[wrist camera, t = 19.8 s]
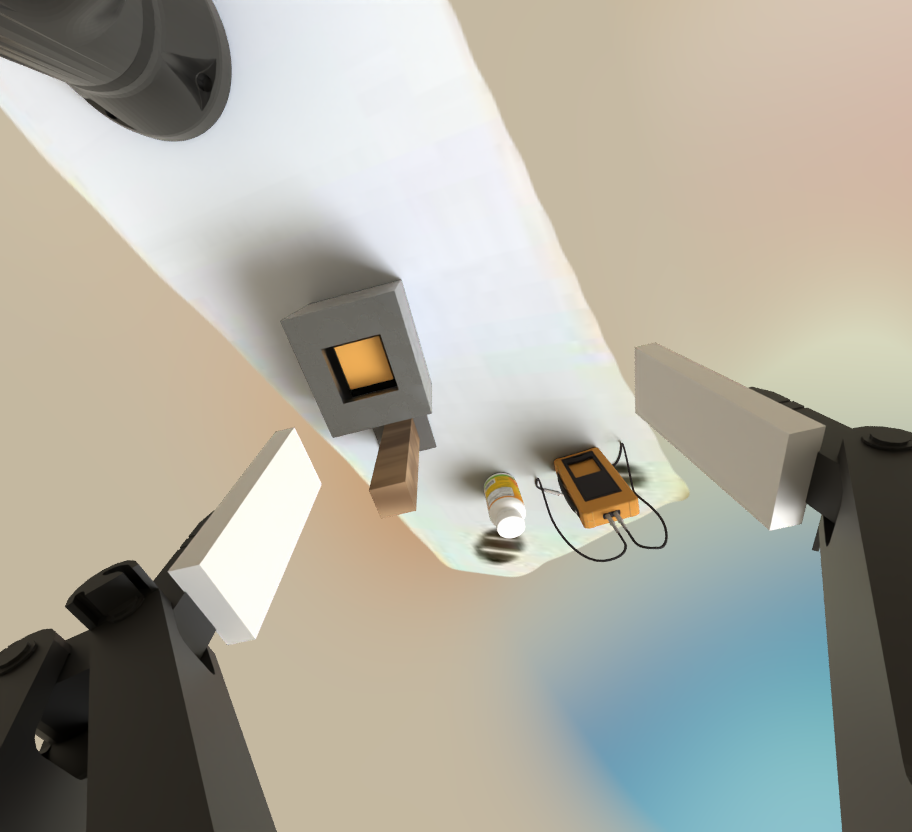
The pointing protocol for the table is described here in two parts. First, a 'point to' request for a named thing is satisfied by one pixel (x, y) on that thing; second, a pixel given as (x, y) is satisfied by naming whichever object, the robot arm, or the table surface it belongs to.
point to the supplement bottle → (505, 505)
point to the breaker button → (364, 361)
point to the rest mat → (422, 430)
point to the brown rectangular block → (396, 470)
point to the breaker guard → (353, 321)
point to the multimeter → (597, 493)
